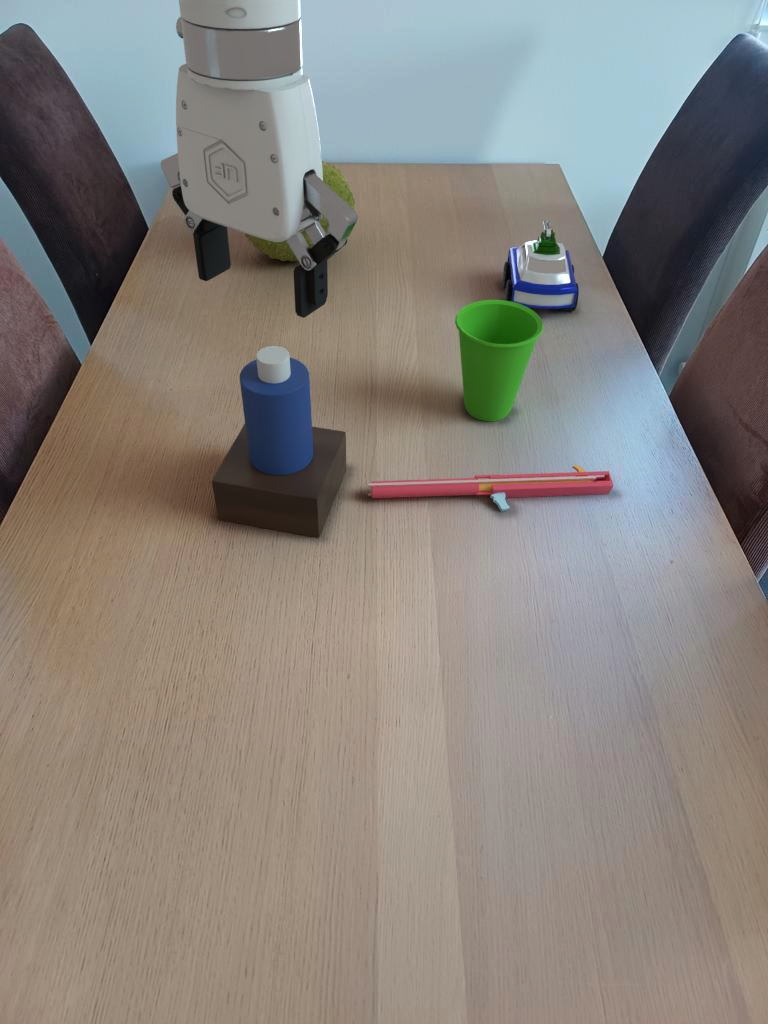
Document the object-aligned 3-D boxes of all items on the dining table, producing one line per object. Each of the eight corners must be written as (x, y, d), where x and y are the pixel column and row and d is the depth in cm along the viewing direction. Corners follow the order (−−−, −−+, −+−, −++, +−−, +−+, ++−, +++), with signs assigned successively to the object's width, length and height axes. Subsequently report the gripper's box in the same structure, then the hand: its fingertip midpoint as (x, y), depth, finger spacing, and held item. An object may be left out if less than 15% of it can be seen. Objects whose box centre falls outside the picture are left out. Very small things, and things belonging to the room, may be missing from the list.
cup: (444, 428, 87) (452, 340, 80) (450, 381, 94) (458, 295, 86) (527, 437, 86) (543, 349, 79) (528, 388, 93) (543, 303, 85)
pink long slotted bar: (611, 511, 79) (602, 470, 82) (618, 501, 78) (608, 460, 80) (369, 520, 78) (366, 478, 80) (370, 510, 76) (367, 467, 78)
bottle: (287, 484, 73) (278, 383, 65) (236, 460, 75) (222, 359, 67) (326, 449, 76) (322, 349, 69) (276, 427, 79) (267, 328, 71)
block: (319, 538, 75) (317, 498, 71) (217, 520, 76) (211, 480, 73) (346, 470, 82) (346, 431, 78) (253, 454, 83) (248, 415, 80)
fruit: (290, 218, 125) (335, 132, 115) (340, 283, 121) (391, 200, 111) (204, 214, 113) (245, 118, 103) (257, 286, 109) (305, 194, 99)
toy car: (567, 277, 113) (579, 211, 106) (577, 322, 104) (591, 253, 97) (500, 274, 113) (509, 208, 106) (505, 319, 104) (514, 250, 98)
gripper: (104, 37, 53) (148, 278, 65) (317, 88, 46) (322, 346, 58) (184, 17, 58) (211, 245, 69) (387, 61, 51) (379, 304, 63)
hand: (262, 291), depth 64 cm, fingers open, 9 cm apart
